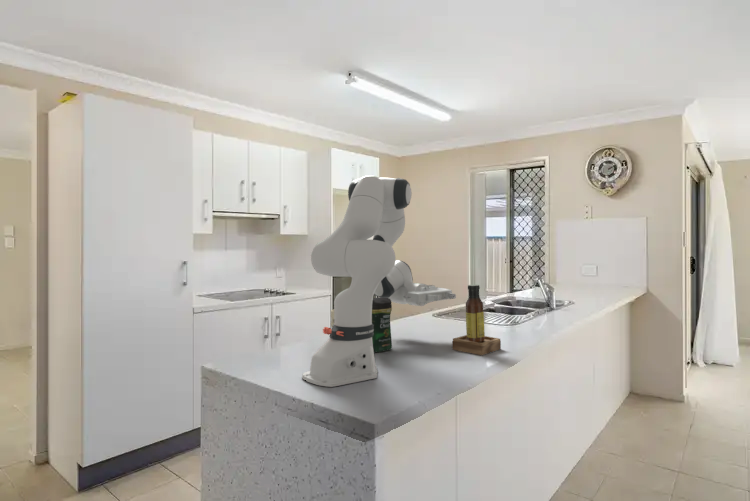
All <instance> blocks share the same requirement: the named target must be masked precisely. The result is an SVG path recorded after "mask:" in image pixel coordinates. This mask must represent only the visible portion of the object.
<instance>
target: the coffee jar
mask: <svg viewBox="0 0 750 501" xmlns="http://www.w3.org/2000/svg"><path fill="white" fill-rule="evenodd" d="M392 306H393V305H392V301H391V300H390V299H389V298H383V297H373V302H372V324H373V330H374V331H373V336H372V342H373V349H374V353H382V352H387V351H391V350H392V348H393V342H392V332H391V331H392V329H391V313H392V312H393V311H392V310H393V307H392Z"/></svg>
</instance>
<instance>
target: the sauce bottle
mask: <svg viewBox="0 0 750 501" xmlns="http://www.w3.org/2000/svg"><path fill="white" fill-rule="evenodd" d="M480 288H481V287H480V285H479V284H467V291H468V295H467V296H468V298H467V299H466V302H465V327H466V328H465V329H466V335H467V340H468V341H473V342H483V341H484V336H486V335H485V315H484V314H485V313H484V303H483V300H482V299H481V297H480V296H481V295H480Z"/></svg>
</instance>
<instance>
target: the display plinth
mask: <svg viewBox="0 0 750 501" xmlns="http://www.w3.org/2000/svg"><path fill="white" fill-rule="evenodd" d="M501 345H502V344H501V338H499V337H493V336H487V335H485V336H484V341H483V342H473V341H468V340H467V334H466V335H462V336H459V337H458V336H457V337H453V338H452V350H454V351H458V352H462V353H463V352H464V353H468V354H469V353H470V354H474V355H477V356H484V355H488V354H490V352H491V353H493V351H494V352H496V350H497V351H499V349H500V350H501V349H502V348H501V347H502V346H501Z"/></svg>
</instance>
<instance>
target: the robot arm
mask: <svg viewBox="0 0 750 501" xmlns="http://www.w3.org/2000/svg"><path fill="white" fill-rule="evenodd" d="M347 192H348V193H347V195H348V201H349V202H348V204H347V209H346V212H345V213H344V217H343V219H342V221H341V223H339V225H338V227H337V228H336V229H335V230H334V231H333V232H332V233H331V234H330V235H328V236H327V237H326V238H325V239H323V240H322V241H320V242H317V243H316V244H315V245H314V247H313V248H312V250H311V254H310V261H311V265H312V268H313V270H314V271H315V272H316V273H318V274H319V275H323V276H328V277H335V278H336V277H343V278H351V281H350V282H351V283H350V285H349V287H347V288H345V289H344V290H342V291H340V292H339V293H338V294H336V296H335V299H334V301H333V305H334V306H333V309H334V324H333V327H327V326H324V327H323V328H322V333H323V335H328V336H329V338H328V339H327V341H325V342H324V344H322V346H320V348H318V350H317V351H315V353H313V355H312V356H311V360H310V368H309V369H310V370H308V371H305V372H302V374H301V377H302V379H303V380H304V381H305V380H306V382H308V383H310V384H313V385H317V386H320V387H327V388H328V387H329V388H332V387H333V388H334V387H338V386H344V385H348V384H354V383H358V382H364V381H367V380H368V381H369V380H372V379H377V378H378V373H379V371H378V368H377V363H376V359H375V352H374V349H373V342H372V336H373V331H374V330H373V324H372V302H373V298H374V295H375V296H376V297H377V298H380V297H383V298H389V299H390V300H391V303H394V304H400V305H407V304H408V305H410V306H416V307H417V306H418V307H423V306H425V305H427V304H429V303H432V302H439V301H445V300H446V301H447V300H452V299H456V298H457V295H456V293H453V290H452V289H450V288H445V287H438V286H437V287H436V285H433V284H425V283H417V282H414V279H413V272H412V269H411V267H410V265H409V264H408V263H407V262H406V261H403V260H400V259H397V258H396V253H395V250H394V248H393V246H394V245H395V243H396V242H397V241H398V240H399V238H400V237H401V236H402V235H403V233H404V231H405V228H406V216H405V208H407V207H408V206H409V205H410V203H411V199H412V194H413V193H412V188H411V184H410V182H409V181H408V180H407V179H404V178H401V177H397V178H393V177H380V176H376V175H373V174H372V175H369V174H368V175H365V176H362V177H360V178H356V179H353V180H352V181H351V182H350V183H349V186H348V190H347ZM372 237H373V238H372ZM371 238H372V239H371Z"/></svg>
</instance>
